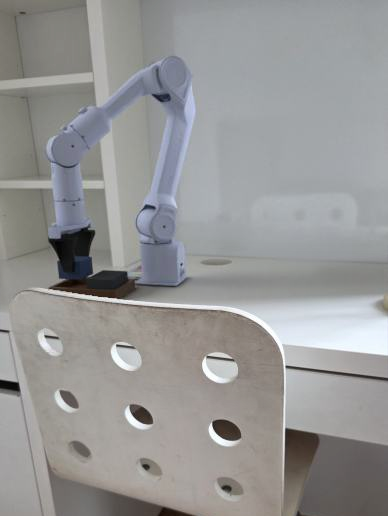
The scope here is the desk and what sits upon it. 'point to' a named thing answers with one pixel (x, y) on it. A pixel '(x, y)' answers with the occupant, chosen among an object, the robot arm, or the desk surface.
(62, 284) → the pad tray
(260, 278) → the desk surface
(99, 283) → the charcoal pad
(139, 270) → the smartphone
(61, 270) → the navy blue cube
